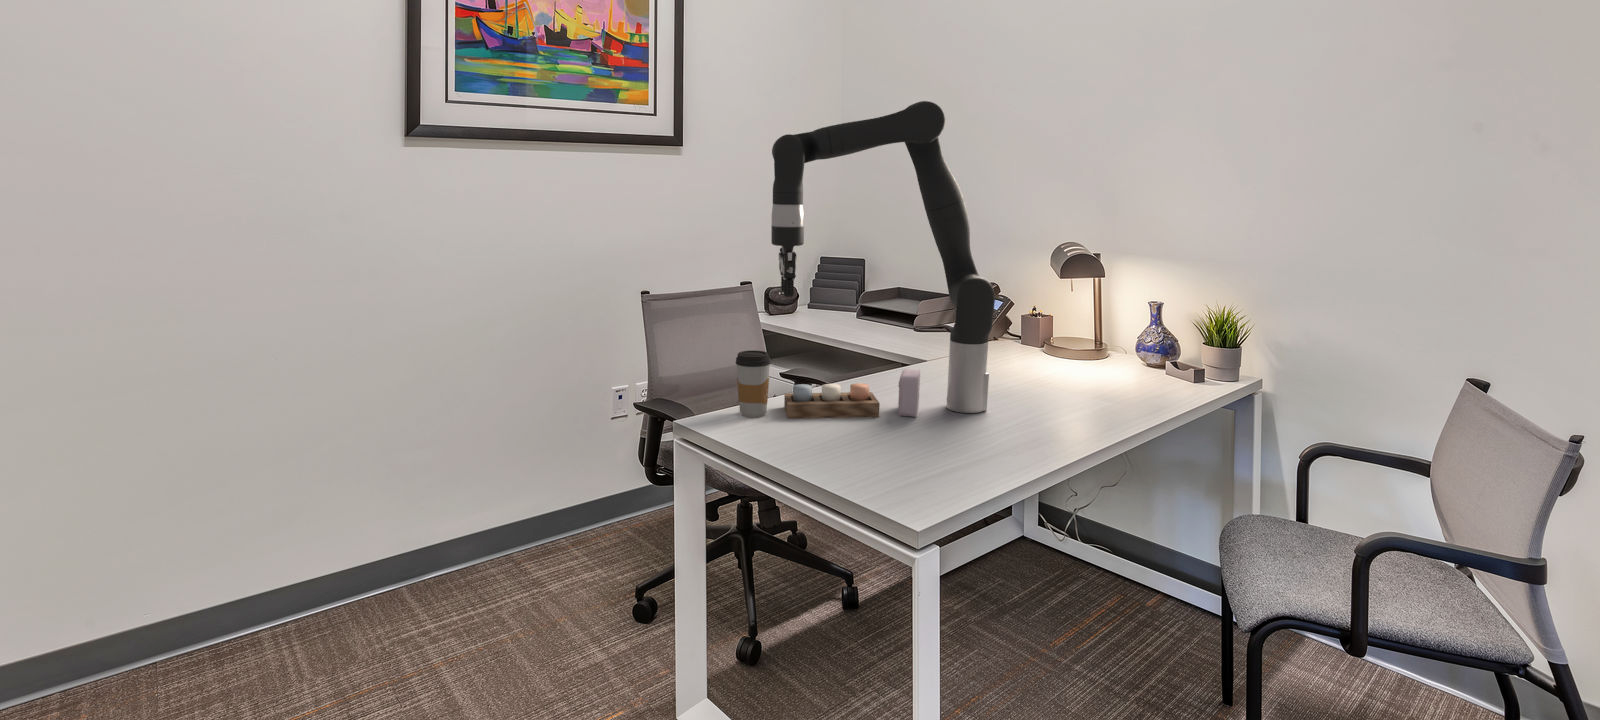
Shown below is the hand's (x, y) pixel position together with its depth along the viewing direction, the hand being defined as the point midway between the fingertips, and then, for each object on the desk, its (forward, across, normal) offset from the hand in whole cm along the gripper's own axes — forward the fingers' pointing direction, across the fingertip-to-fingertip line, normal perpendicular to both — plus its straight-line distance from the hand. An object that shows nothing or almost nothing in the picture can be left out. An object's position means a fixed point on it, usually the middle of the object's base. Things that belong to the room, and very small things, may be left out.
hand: (787, 293), depth 186 cm
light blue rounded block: (+26, -1, -4) cm, 26 cm away
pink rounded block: (+26, -1, -18) cm, 31 cm away
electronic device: (+29, -2, -30) cm, 42 cm away
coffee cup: (+29, -2, +8) cm, 30 cm away
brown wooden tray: (+29, -1, -11) cm, 31 cm away
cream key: (+26, -1, -11) cm, 28 cm away
